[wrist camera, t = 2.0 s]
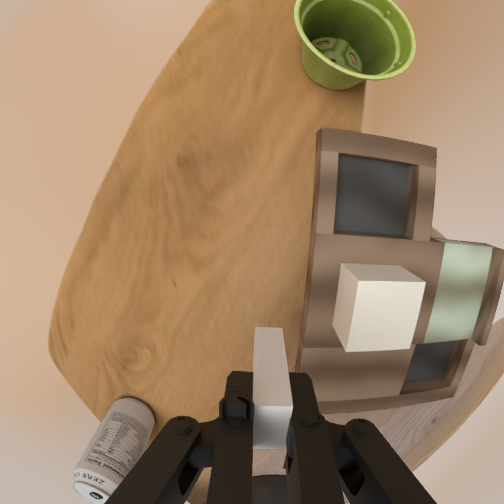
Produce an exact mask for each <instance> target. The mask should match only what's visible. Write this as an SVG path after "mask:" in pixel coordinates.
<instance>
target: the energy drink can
mask: <svg viewBox="0 0 504 504" xmlns="http://www.w3.org/2000/svg"><path fill="white" fill-rule="evenodd" d="M154 424H155V420H154V417H153V415H152V412H151V410H150V409H149V408H148V406H147V405H145V404H144V403H143V402H141V401H139V400H137V399H134V398H128V397H127V398H122V399H118V400H116V401H114V403H113V404H112V406H111V407H110V409H109V411H108V412H107V414H106V416H105V417H104V419H103V421H102V422H101V424H100V426H99V428H98V429H97V431H96V433H95V434H94V436H93V438H92V439H91V441H90V443H89V445H88V446H87V448H86V450H85V451H84V453H83V455H82V457H81V459H80V461H79V462H78V464H77V466H76V467H75V469H74V472H73V474H74V481H75V482H74V483H73V488H74V490H75V491H76V492H77V493H78V494H79V495H80V496H81V497H82V498H84V499H85V500H87V501H89V502H90V503H92V504H104V503H105V502H106V501H107V499H108V498H109V497H110V496H111V494H112V493H113V492H114V491H115V489H116V488H117V487H118V486H119V484H120V483H121V482H122V481H123V479H124V478H125V477H126V475H127V474H128V473H129V472H130V470H131V469H132V468H133V467H134V465H135V464H136V463H137V461H138V460H139V459H140V458H141V456H142V455H143V453H144V450H145V448H146V445H147V443H148V440H149V437H150V435H151V432H152V430H153V427H154Z"/></svg>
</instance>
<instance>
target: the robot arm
mask: <svg viewBox="0 0 504 504" xmlns="http://www.w3.org/2000/svg"><path fill="white" fill-rule="evenodd" d="M285 447H286V448H287V453H286V458H285V462H284V467H283V469H286V476H275V475H272V476H258V477H252V462H253V449H267V450H285ZM206 467H212V470H211V477H210V483H209V490H208V496H207V503H206V504H345V502H344V497H343V492H344V493H345V495H346V497H347V499H348V500H349V502H350V504H437V503H436V502H435V501H434V500H433V498H432V497H431V496H430V495H429V493H428V492H427V491H426V490H425V489H424V487H423V486H422V485H421V483H420V482H419V481H418V480H417V478H416V477H415V476H414V475H413V473H412V472H411V471H410V469H409V468H408V467H407V466H406V464H405V463H404V462H403V461H402V459H401V458H400V457H399V456H398V454H397V453H396V452H395V451H394V449H393V448H392V447H391V445H390V444H389V443H388V442H387V440H386V439H385V438H384V437H383V435H382V434H381V433H380V432H379V430H378V429H377V428H376V426H375V425H374V424H373V423H371V422H370V421H368V420H365V419H353V420H351V421H348V423H347V424H346V425H339V424H334V423H330V422H328V421H326V420H325V418H324V416H323V415H321V414H320V412H319V408H318V404H317V400H316V395H315V393H314V387H313V383H312V379H311V378H310V377H309V376H308V374H307V373H291V372H288V366H287V359H286V352H285V345H284V338H283V331H282V328H270V327H255V338H254V355H253V372H243V371H232V372H231V373H230V375H229V376H228V377H227V383H226V390H225V396H224V398H223V399H221V401H220V403H219V417H218V418H216V419H215V420H212V421H209V422H203V423H198V422H197V420H196V419H194V418H191V417H188V416H177V417H174V418H172V419H171V420H169V421H168V422H167V423H166V425H165V426H164V427H163V429H162V430H161V431H160V433H159V434H158V435H157V437H156V438H155V439H154V441H153V442H152V443H151V445H150V446H149V447H148V448H147V450H146V451H145V452H144V454H143V455H142V456H141V458H140V459H139V460H138V461H137V463H136V464H135V465H134V467H133V468H132V469H131V470H130V472H129V473H128V474H127V475H126V477H125V478H124V479H123V481H122V482H121V483H120V484H119V486H118V487H117V488H116V489H115V491H114V492H113V493H112V494H111V496H110V497H109V498H108V499H107V501H106V502H105V503H104V504H184V503H185V501H186V499H187V498H188V496H189V494H190V492H191V490H192V489H193V487H194V485H195V483H196V481H197V480H198V478H199V476H200V474H201V472H202V470H203V468H206ZM342 490H343V492H342Z"/></svg>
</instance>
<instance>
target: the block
mask: <svg viewBox="0 0 504 504" xmlns="http://www.w3.org/2000/svg"><path fill="white" fill-rule="evenodd" d="M425 284H426V282H425V281H423V280H422V279H420V278H419V277H417V276H416V275H414V274H413V273H411V272H409V271H408V270H406V269H405V268H403V267H401V266H395V265H372V264H350V263H341V268H340V276H339V283H338V291H337V298H336V304H335V311H334V317H333V324H332V325H333V327H334V329H335V331H336V333H337V335H338V337H339V339H340V342H341V344H342V346H343V348H344V350H345V352H361V351H383V350H399V349H410V346H411V342H412V339H413V335H414V331H415V328H416V324H417V320H418V316H419V312H420V307H421V303H422V298H423V294H424V289H425Z"/></svg>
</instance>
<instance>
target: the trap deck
mask: <svg viewBox="0 0 504 504" xmlns="http://www.w3.org/2000/svg"><path fill="white" fill-rule="evenodd" d="M436 155H437V148H435V147H431V146H426V145H422V144H418V143H413V142H408V141H403V140H398V139H393V138H388V137H382V136H377V135H371V134H364V133H358V132H351V131H344V130H337V129H329V128H321V129H320V130H319V131H318V132H317V136H316V160H315V179H314V196H313V210H312V224H311V236H310V248H309V259H308V270H307V279H306V289H305V298H304V307H303V316H302V324H301V332H300V340H299V347H298V354H297V362H296V369H295V373H307V374H308V376H309V377H310V378H311V379H312V383H313V387H314V393H315V395H316V400H317V404H318V408H319V412H320V414H333V413H348V412H360V411H370V410H379V409H388V408H395V407H402V406H409V405H415V404H421V403H426V402H431V401H436V400H441V399H446V398H451V397H453V396H454V394H455V392H456V390H457V387H458V385H459V383H460V380H461V378H462V375H463V373H464V370H465V368H466V365H467V363H468V360H469V357H470V355H471V352H472V349H473V346H474V343H475V342H476V343H477V344H478V345H479V346H482V345H485V344H486V341H487V338H488V335H489V332H490V329H491V326H492V322H493V319H494V316H495V312H496V309H497V305H498V301H499V297H500V294H501V289H502V285H503V281H504V250H503V249H500V248H497V247H494V246H491V245H489V244H486V243H477V242H466V241H457V240H447V239H436V238H430V236H431V227H432V218H433V209H434V197H435V182H436V157H437V156H436ZM341 263H350V264H372V265H395V266H401V267H403V268H405V269H406V270H408V271H409V272H411V273H413V274H414V275H416V276H417V277H419V278H420V279H422V280H423V281H425V282H426V284H425V289H424V294H423V298H422V303H421V307H420V312H419V316H418V320H417V324H416V328H415V331H414V335H413V339H412V342H411V346H410V349H399V350H383V351H361V352H345V350H344V348H343V346H342V344H341V342H340V339H339V337H338V335H337V333H336V331H335V329H334V327H333V325H332V324H333V317H334V311H335V304H336V298H337V291H338V283H339V276H340V268H341Z"/></svg>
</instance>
